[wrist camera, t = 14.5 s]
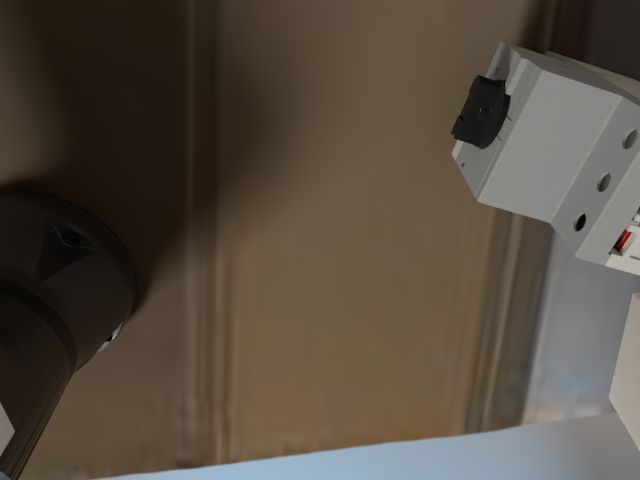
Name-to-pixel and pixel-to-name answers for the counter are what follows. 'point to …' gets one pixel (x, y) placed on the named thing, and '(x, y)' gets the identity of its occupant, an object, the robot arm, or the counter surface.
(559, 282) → the counter surface
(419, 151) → the counter surface
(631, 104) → the circuit breaker
